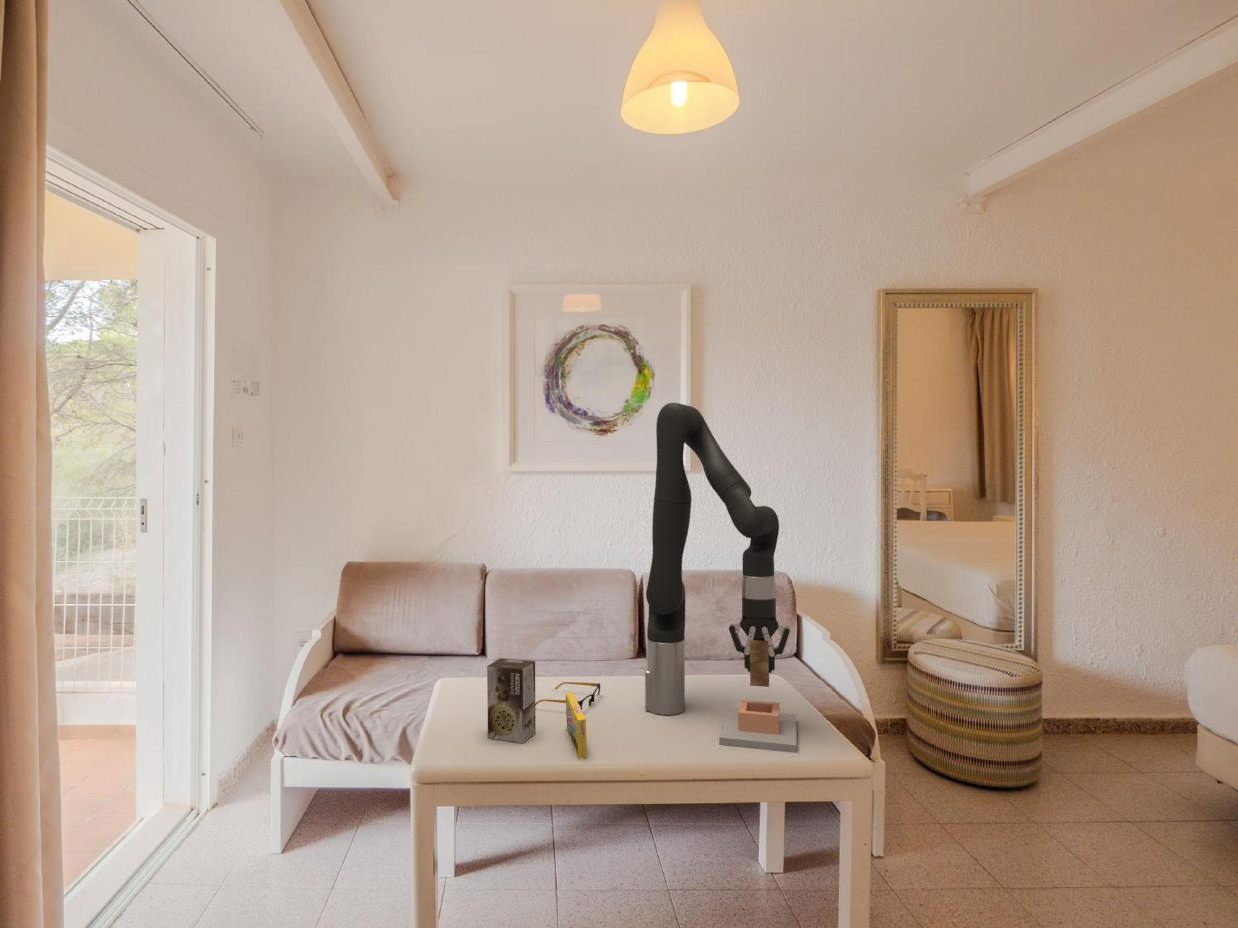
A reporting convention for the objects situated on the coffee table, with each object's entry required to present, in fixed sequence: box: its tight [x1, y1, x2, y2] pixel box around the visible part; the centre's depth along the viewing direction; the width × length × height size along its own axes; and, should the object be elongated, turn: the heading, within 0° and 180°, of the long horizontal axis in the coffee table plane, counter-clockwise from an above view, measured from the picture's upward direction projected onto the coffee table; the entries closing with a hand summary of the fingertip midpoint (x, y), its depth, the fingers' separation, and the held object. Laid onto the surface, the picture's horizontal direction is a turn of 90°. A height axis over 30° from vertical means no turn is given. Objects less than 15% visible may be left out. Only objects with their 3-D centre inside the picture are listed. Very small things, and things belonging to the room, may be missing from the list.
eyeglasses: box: [535, 681, 601, 710], centre depth 166 cm, size 14×14×4 cm
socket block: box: [718, 699, 798, 753], centre depth 147 cm, size 16×18×6 cm
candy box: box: [565, 692, 588, 760], centre depth 141 cm, size 16×2×8 cm, turn 13°
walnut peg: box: [749, 640, 770, 688], centre depth 147 cm, size 4×4×10 cm
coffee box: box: [486, 657, 537, 744], centre depth 145 cm, size 9×6×16 cm
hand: (759, 670), depth 147 cm, fingers closed on walnut peg, 4 cm apart
